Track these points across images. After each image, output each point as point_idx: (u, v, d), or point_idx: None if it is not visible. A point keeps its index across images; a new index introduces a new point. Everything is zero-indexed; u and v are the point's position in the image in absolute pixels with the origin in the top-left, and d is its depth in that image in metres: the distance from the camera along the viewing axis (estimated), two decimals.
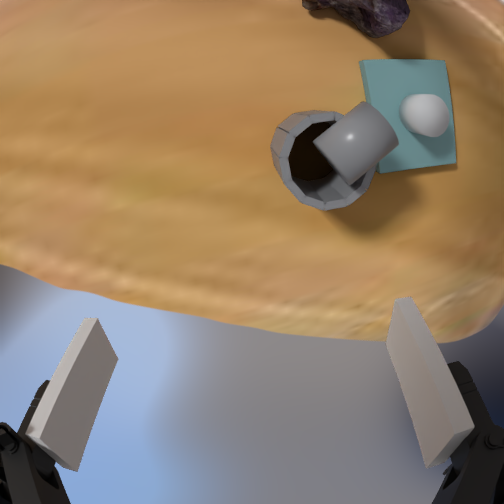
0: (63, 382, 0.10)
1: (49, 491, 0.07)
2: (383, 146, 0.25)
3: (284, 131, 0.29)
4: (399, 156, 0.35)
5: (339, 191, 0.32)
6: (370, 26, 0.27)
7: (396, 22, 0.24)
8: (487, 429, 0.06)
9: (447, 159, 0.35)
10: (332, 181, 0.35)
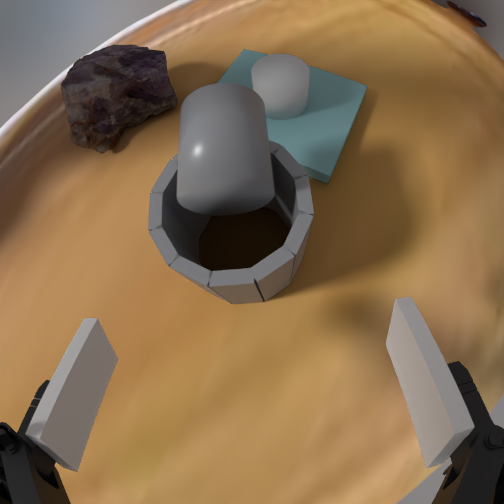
0: (63, 382, 0.10)
1: (49, 491, 0.07)
2: (235, 104, 0.16)
3: None
4: (322, 142, 0.27)
5: None
6: (155, 97, 0.28)
7: (156, 63, 0.25)
8: (487, 429, 0.06)
9: (357, 93, 0.28)
10: None
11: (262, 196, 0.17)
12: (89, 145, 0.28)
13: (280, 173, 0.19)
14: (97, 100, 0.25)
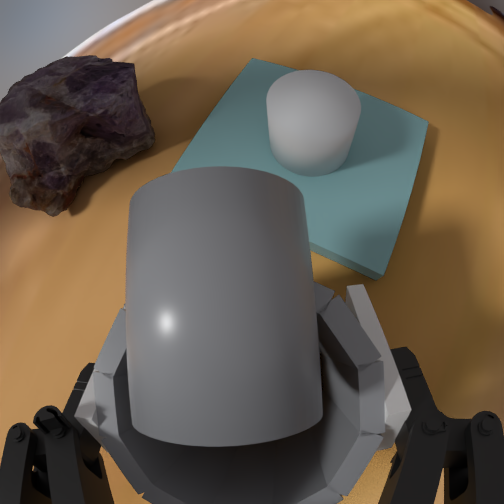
0: None
1: (92, 481, 0.07)
2: (246, 236, 0.07)
3: None
4: (372, 218, 0.17)
5: (345, 412, 0.10)
6: (120, 135, 0.19)
7: (118, 85, 0.16)
8: (423, 415, 0.08)
9: (417, 133, 0.19)
10: (330, 389, 0.14)
11: None
12: (36, 206, 0.19)
13: (326, 333, 0.10)
14: (36, 145, 0.16)
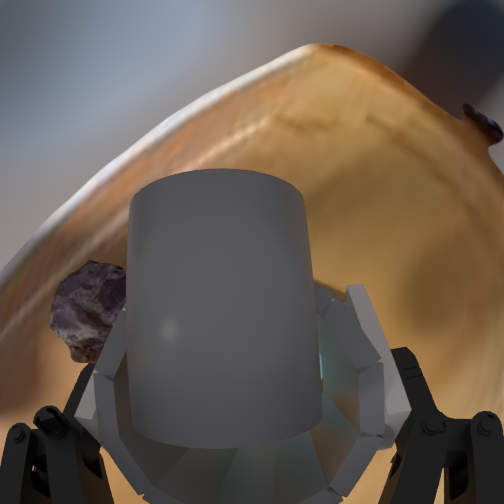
0: None
1: (92, 481, 0.07)
2: (246, 238, 0.07)
3: None
4: None
5: (345, 413, 0.10)
6: None
7: None
8: (423, 415, 0.08)
9: None
10: (330, 390, 0.14)
11: None
12: (90, 360, 0.31)
13: (326, 335, 0.10)
14: (88, 339, 0.28)
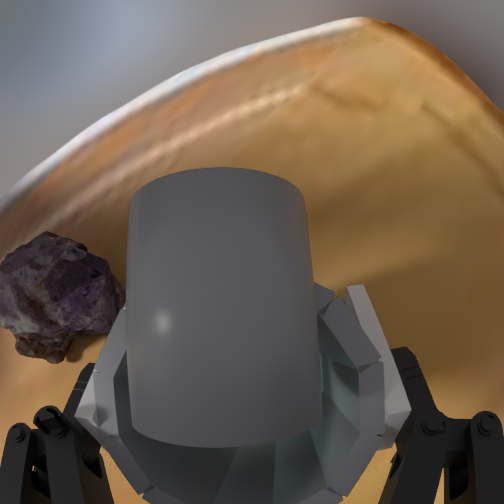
0: None
1: (92, 481, 0.07)
2: (246, 237, 0.07)
3: None
4: None
5: (345, 413, 0.10)
6: None
7: (91, 308, 0.19)
8: (423, 415, 0.08)
9: None
10: (330, 390, 0.14)
11: None
12: (38, 356, 0.23)
13: (326, 334, 0.10)
14: (32, 333, 0.19)
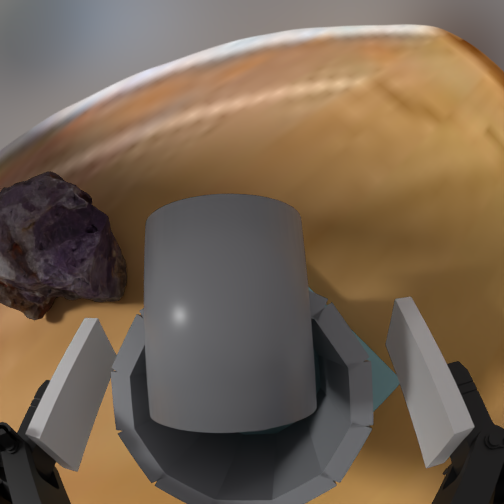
0: (63, 382, 0.10)
1: (49, 491, 0.07)
2: (250, 255, 0.08)
3: None
4: None
5: (338, 407, 0.12)
6: None
7: (76, 266, 0.16)
8: (487, 429, 0.06)
9: (379, 394, 0.17)
10: (326, 387, 0.15)
11: None
12: (16, 307, 0.20)
13: (321, 336, 0.12)
14: (10, 280, 0.17)
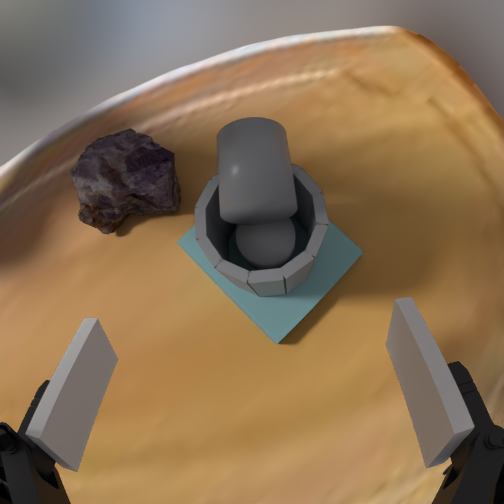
0: (63, 382, 0.10)
1: (49, 491, 0.07)
2: (265, 137, 0.20)
3: None
4: (285, 309, 0.29)
5: None
6: (156, 204, 0.32)
7: (157, 179, 0.29)
8: (487, 429, 0.06)
9: (348, 259, 0.30)
10: None
11: (287, 211, 0.22)
12: (94, 225, 0.33)
13: (300, 190, 0.24)
14: (101, 197, 0.30)
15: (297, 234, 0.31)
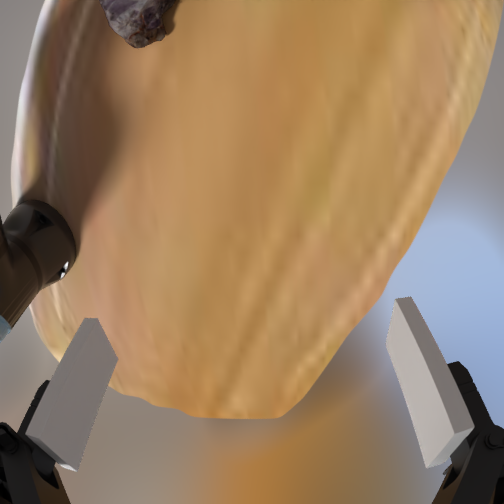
0: (63, 382, 0.10)
1: (49, 491, 0.07)
2: None
3: None
4: None
5: None
6: None
7: None
8: (487, 429, 0.06)
9: None
10: None
11: None
12: (150, 41, 0.31)
13: None
14: (145, 11, 0.26)
15: None
